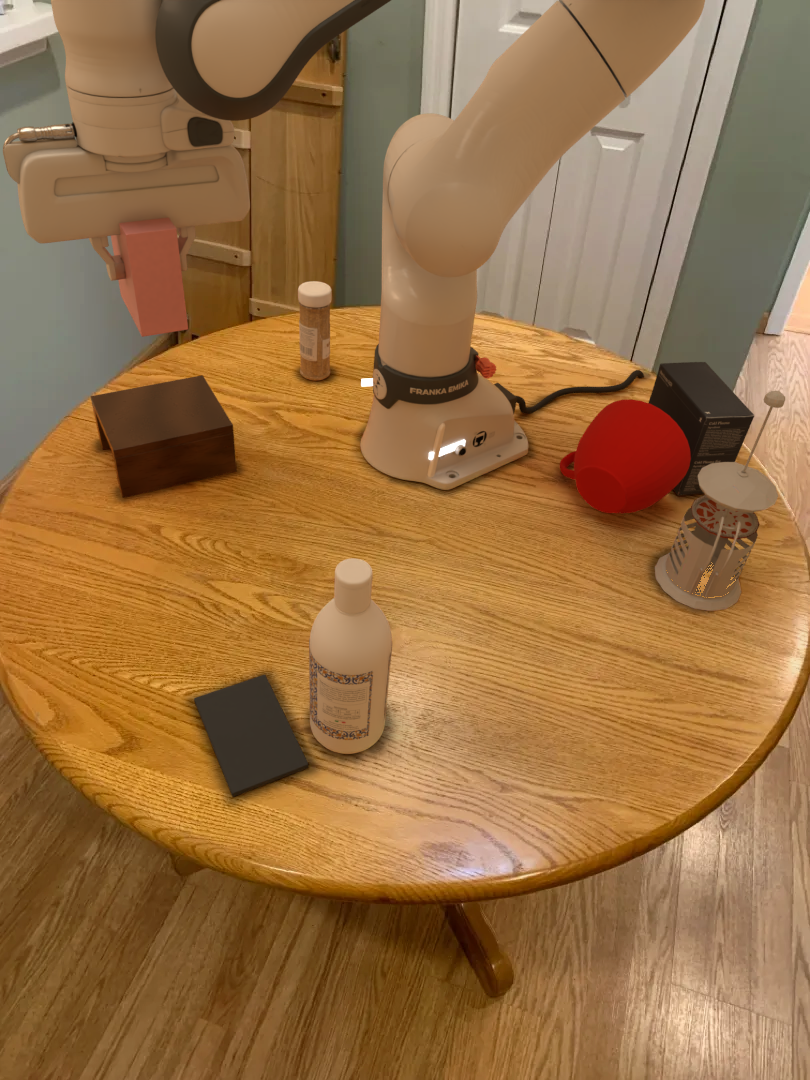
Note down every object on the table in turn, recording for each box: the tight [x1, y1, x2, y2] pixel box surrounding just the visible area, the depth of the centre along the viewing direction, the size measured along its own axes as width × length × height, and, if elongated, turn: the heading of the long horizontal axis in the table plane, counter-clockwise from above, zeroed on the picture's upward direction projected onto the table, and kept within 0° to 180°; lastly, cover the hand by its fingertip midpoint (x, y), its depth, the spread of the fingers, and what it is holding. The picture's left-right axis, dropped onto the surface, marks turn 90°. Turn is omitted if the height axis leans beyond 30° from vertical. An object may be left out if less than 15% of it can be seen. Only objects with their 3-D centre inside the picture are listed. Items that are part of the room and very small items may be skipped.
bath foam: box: [308, 557, 393, 755], centre depth 72 cm, size 7×7×20 cm
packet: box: [110, 218, 189, 337], centre depth 81 cm, size 4×9×10 cm, turn 26°
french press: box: [654, 390, 786, 612], centre depth 88 cm, size 10×12×25 cm
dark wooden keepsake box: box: [90, 374, 237, 499], centre depth 104 cm, size 14×12×7 cm
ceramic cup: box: [559, 398, 691, 515], centre depth 103 cm, size 13×17×10 cm
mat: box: [193, 674, 309, 798], centre depth 77 cm, size 7×11×1 cm, turn 27°
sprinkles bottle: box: [297, 280, 333, 381], centre depth 119 cm, size 5×5×13 cm
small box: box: [648, 361, 755, 496], centre depth 109 cm, size 13×7×12 cm, turn 12°
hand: (148, 273), depth 82 cm, fingers closed on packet, 4 cm apart
